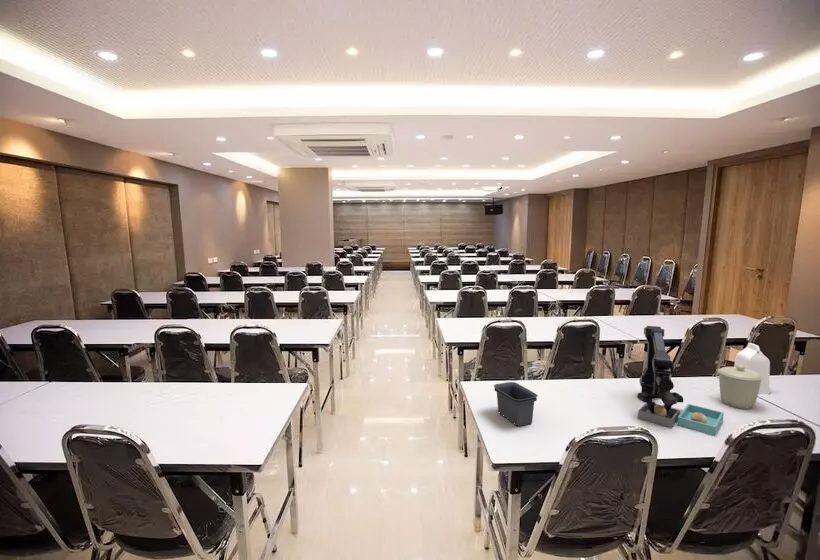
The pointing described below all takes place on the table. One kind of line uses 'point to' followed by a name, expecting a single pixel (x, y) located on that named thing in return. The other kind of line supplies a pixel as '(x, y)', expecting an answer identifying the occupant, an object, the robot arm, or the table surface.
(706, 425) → the holder
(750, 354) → the milk
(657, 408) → the maple ball
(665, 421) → the tray
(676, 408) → the pattern card
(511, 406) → the storage bin
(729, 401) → the canister
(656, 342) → the robot arm
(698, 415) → the maple ball resting
